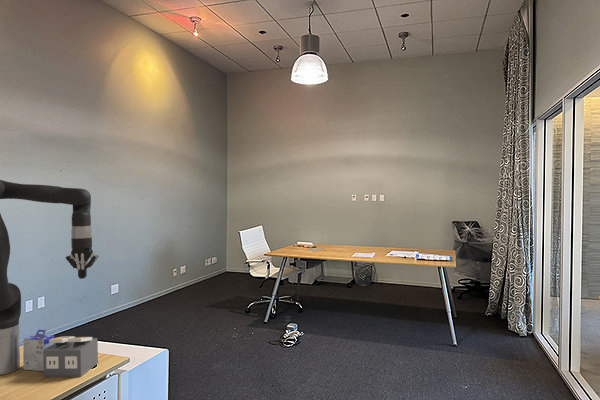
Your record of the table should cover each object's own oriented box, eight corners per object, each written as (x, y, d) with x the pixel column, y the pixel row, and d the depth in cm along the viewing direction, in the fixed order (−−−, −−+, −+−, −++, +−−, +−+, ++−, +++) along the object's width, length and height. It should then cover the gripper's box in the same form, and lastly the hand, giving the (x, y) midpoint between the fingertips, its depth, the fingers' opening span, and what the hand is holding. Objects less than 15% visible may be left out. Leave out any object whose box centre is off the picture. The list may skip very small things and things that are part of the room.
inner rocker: (49, 342, 149) (49, 339, 149) (62, 339, 157) (62, 336, 157) (62, 342, 149) (62, 339, 149) (74, 339, 157) (74, 336, 157)
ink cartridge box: (56, 365, 157) (55, 329, 157) (44, 372, 152) (43, 334, 152) (34, 364, 159) (34, 328, 159) (22, 370, 154) (21, 332, 154)
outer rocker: (67, 341, 149) (68, 338, 149) (79, 340, 157) (79, 336, 157) (80, 341, 149) (81, 338, 149) (91, 340, 157) (92, 336, 157)
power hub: (43, 377, 147) (42, 348, 147) (63, 363, 159) (62, 336, 159) (80, 377, 147) (79, 348, 147) (98, 363, 159) (97, 336, 159)
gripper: (60, 237, 161) (61, 280, 161) (92, 237, 161) (93, 280, 161) (71, 235, 168) (72, 276, 169) (102, 235, 168) (102, 276, 168)
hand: (82, 278), depth 165 cm, fingers closed
